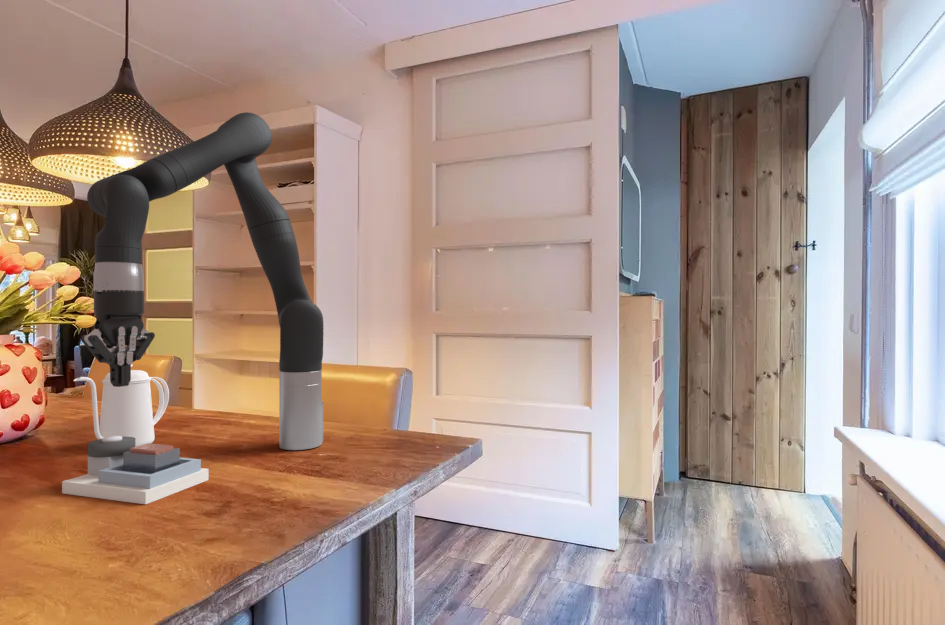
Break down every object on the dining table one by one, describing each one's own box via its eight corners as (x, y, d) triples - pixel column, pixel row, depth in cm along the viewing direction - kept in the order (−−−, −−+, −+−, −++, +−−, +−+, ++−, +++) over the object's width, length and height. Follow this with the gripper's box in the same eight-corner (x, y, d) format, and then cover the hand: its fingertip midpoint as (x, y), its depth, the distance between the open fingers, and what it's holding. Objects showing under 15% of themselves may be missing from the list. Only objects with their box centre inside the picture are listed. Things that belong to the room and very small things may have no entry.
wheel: (115, 463, 99) (115, 432, 99) (144, 466, 97) (144, 434, 97) (77, 474, 92) (77, 440, 92) (108, 477, 90) (108, 443, 90)
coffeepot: (51, 459, 110) (52, 368, 110) (148, 433, 134) (148, 359, 134) (95, 462, 108) (96, 370, 108) (185, 435, 132) (186, 359, 132)
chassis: (131, 471, 102) (132, 442, 102) (208, 479, 96) (208, 449, 96) (62, 493, 89) (62, 460, 89) (145, 504, 84) (145, 469, 84)
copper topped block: (149, 470, 95) (149, 442, 95) (179, 474, 93) (179, 444, 93) (123, 478, 91) (123, 448, 91) (155, 482, 89) (155, 452, 89)
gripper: (136, 290, 102) (137, 380, 102) (66, 288, 90) (67, 390, 90) (167, 290, 100) (168, 381, 100) (99, 287, 88) (101, 392, 88)
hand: (120, 386), depth 95 cm, fingers closed
